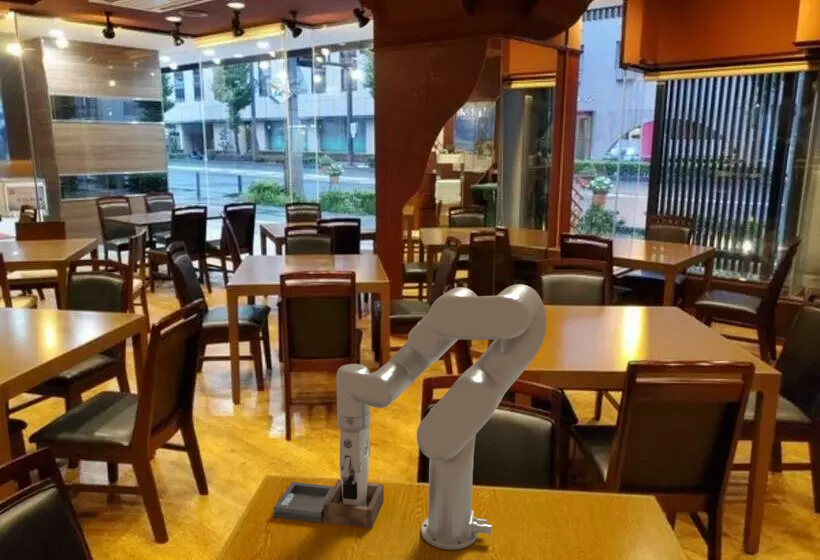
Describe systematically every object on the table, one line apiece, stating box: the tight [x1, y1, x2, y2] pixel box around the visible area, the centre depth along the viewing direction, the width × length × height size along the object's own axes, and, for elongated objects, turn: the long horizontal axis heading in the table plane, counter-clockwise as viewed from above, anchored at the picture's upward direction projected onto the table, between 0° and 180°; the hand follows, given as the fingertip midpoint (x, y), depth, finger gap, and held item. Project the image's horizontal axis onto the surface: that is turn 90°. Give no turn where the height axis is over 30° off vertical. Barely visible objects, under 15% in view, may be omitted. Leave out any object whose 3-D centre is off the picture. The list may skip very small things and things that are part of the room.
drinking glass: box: [339, 451, 370, 507], centre depth 144 cm, size 7×7×15 cm
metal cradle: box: [273, 481, 335, 524], centre depth 147 cm, size 11×12×2 cm
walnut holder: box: [323, 479, 385, 529], centre depth 145 cm, size 11×11×4 cm
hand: (354, 489), depth 144 cm, fingers closed on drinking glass, 6 cm apart
